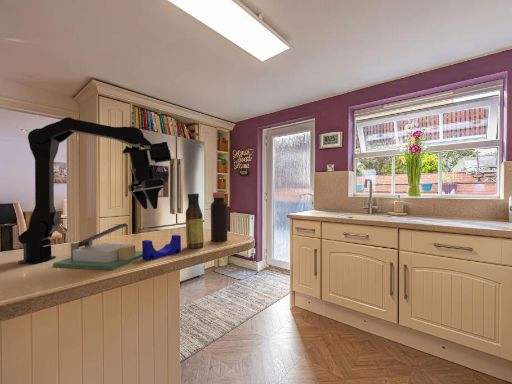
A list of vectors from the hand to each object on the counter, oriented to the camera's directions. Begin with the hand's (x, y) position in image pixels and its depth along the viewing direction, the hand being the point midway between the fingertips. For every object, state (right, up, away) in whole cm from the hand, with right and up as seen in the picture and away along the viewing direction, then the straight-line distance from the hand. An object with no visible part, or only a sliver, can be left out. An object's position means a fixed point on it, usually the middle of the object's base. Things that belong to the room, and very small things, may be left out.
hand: (150, 208), depth 89 cm
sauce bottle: (+14, -15, +5) cm, 21 cm away
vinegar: (+22, -14, +17) cm, 31 cm away
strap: (-10, -8, -12) cm, 17 cm away
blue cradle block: (+6, -15, -7) cm, 18 cm away
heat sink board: (-9, -15, -12) cm, 21 cm away
